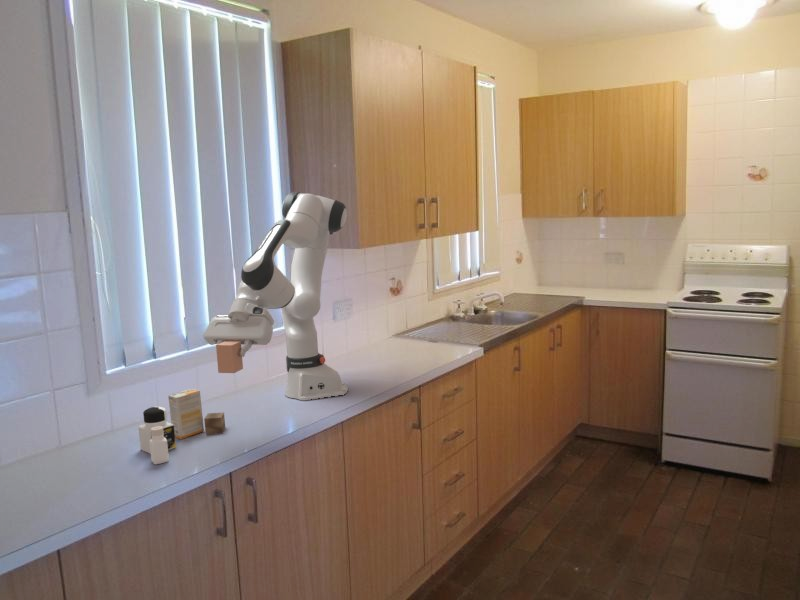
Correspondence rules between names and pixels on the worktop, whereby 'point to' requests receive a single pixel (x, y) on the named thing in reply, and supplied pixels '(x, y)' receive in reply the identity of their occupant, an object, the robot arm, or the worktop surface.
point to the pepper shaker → (158, 446)
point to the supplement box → (186, 413)
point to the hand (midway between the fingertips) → (230, 355)
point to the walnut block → (214, 423)
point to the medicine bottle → (153, 419)
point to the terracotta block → (229, 357)
